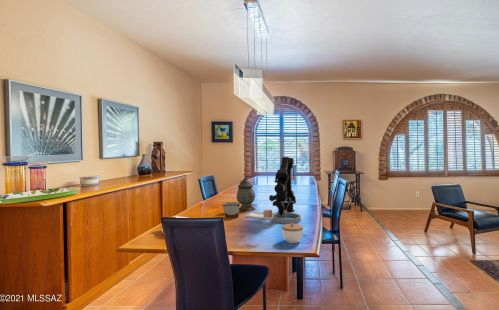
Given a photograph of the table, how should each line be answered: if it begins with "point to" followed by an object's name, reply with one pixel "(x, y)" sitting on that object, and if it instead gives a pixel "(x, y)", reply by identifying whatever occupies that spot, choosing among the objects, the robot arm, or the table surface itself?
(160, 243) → the table surface
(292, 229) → the lidded jar
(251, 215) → the parts tray
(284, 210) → the gray chunky prism
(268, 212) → the matte tan cube
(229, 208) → the food container
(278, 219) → the bowl
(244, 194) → the grey stone urn
